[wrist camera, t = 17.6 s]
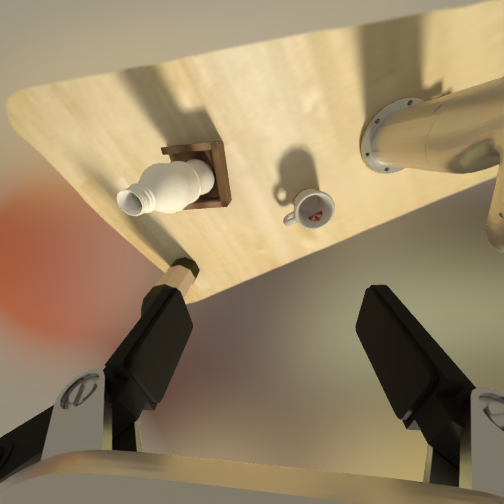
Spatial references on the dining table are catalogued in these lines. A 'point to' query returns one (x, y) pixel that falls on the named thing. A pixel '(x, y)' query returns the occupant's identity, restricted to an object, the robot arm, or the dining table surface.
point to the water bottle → (167, 187)
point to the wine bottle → (173, 280)
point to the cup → (311, 209)
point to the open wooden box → (217, 161)
